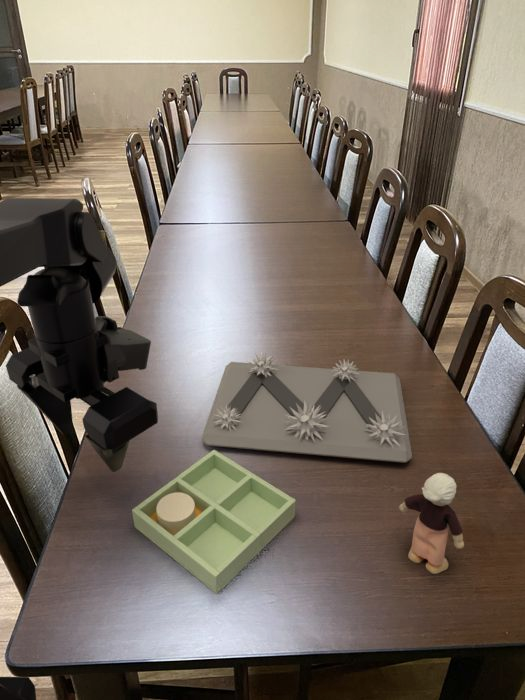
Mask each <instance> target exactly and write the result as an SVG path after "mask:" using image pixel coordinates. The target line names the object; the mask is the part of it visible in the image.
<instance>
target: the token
mask: <svg viewBox="0 0 525 700" xmlns="http://www.w3.org/2000/svg"><path fill="white" fill-rule="evenodd" d="M156 511H157V518H158V524H159V525H160V526H161V527H162V528H164V529H165V530H166V531H168V532H169V533H170V534H171V535H175V534H177V533H178V532H179V531H180V530H182V529H183V528H184V527H185V526H186V525H188V524H189V523H190V522H191V521H192V520H194V519H195V518H196V514H195V503H194V500H193V499H192V498H191V497H190V496H189V495H187V494H185V493H179V492H176V493H171V494H168V495H166V496H164V497H163V498H162V499H161V500H160V501H159V502H158V504H157V507H156Z"/></svg>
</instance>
